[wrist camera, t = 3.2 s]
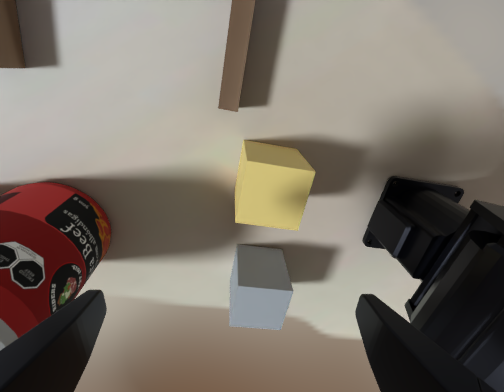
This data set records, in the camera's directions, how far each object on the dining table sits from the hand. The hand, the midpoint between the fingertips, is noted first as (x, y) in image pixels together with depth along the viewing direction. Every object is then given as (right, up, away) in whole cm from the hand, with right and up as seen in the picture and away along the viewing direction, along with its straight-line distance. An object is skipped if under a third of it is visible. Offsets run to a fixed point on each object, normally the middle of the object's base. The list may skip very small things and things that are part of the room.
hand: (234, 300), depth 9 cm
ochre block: (+2, +6, +11) cm, 12 cm away
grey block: (+1, -3, +15) cm, 15 cm away
